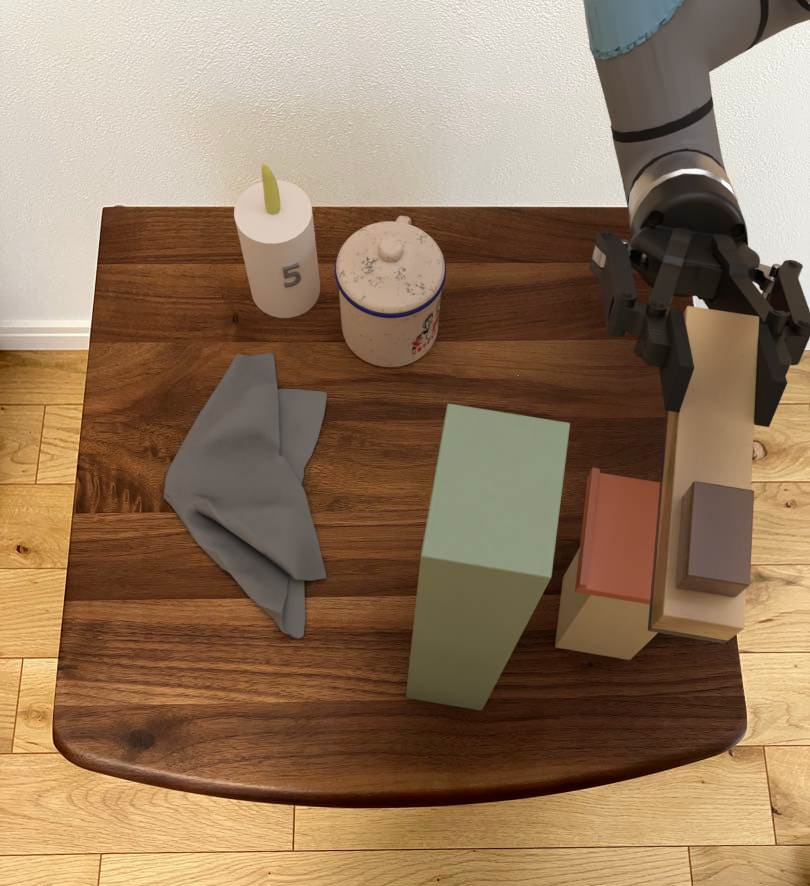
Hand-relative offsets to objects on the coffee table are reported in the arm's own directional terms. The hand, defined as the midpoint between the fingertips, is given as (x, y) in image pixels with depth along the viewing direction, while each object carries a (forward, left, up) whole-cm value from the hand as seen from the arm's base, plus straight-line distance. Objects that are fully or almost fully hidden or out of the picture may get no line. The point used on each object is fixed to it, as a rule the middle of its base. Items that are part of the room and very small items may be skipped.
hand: (725, 396), depth 50 cm
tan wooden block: (0, +3, -4) cm, 5 cm away
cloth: (+30, -3, -31) cm, 43 cm away
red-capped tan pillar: (0, +3, -30) cm, 31 cm away
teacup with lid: (+21, -22, -31) cm, 43 cm away
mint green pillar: (+11, +8, -30) cm, 33 cm away
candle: (+31, -23, -31) cm, 49 cm away
